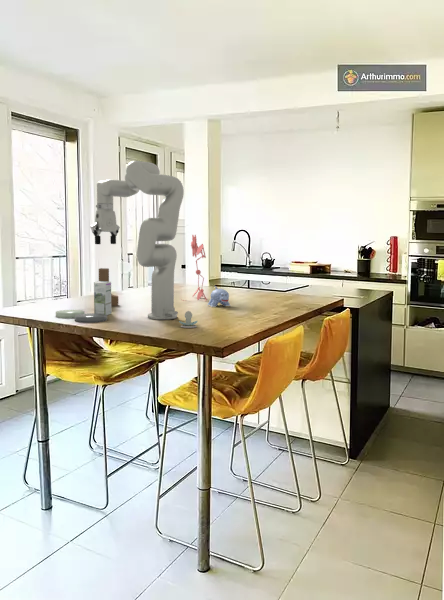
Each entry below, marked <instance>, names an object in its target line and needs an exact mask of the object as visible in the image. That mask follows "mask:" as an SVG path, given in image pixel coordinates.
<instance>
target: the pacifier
mask: <svg viewBox="0 0 444 600" xmlns="http://www.w3.org/2000/svg"><path fill="white" fill-rule="evenodd" d="M184 318H185V322H183V321H181V320H179V321H178V322H179V323H180V328H183V329H185V328H186V329H194V328H197V327H198V326H197V325H196V324H198V320H195V321H192V318H193V313H192V312H191V311H189V310H187V311H185V313H184Z"/></svg>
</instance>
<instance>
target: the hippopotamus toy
mask: <svg viewBox="0 0 444 600" xmlns="http://www.w3.org/2000/svg"><path fill="white" fill-rule="evenodd" d="M213 287H215V289H214V290H212V291H211V293H210V299H209V301H208V303H207V306H208V305H210V306H211V307H210V306H209V307H210V308H217V307H218V304H220V305H221V304H222V305H221V306H223V305H224V306H223V307H225V306H231V307H232V305H231V304H230V302H229V297H230V293H229V292H228V291H227V290H225V288H218V287H217V286H216V285H214V286H213ZM216 306H217V307H216Z"/></svg>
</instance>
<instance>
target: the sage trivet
mask: <svg viewBox="0 0 444 600" xmlns="http://www.w3.org/2000/svg"><path fill="white" fill-rule="evenodd" d="M79 314H86V313H85V310H83V309H82V310H80V309H62V310H56V311H55V317H56V318H61V319H75V316H76V315H79Z"/></svg>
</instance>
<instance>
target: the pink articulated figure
mask: <svg viewBox="0 0 444 600" xmlns="http://www.w3.org/2000/svg"><path fill="white" fill-rule="evenodd" d="M191 235H192V238H191V239H192V241H191V242H190V247H191V250H192V251H191V253H192V254H191V255H192V257H194V258H197V256H198V255H200V254H201V256H200V257H199V258H197V259H196V260H195V265H196V270H195V274H196V275H197V276H198V278H197V279H198V280H197V290H195V292H194V293H193V295H192V298H194V296H196V294H197V298H196V299H197V301H199V300H200V299H201V298H203V297H204V299H205V301H207V297H206V295H205V293H204V289H203V285H204V279H205V277H203V275H201V273H202V272H201V270H200V269H199V268H198V261H199V260H200V259H206V258H207V257H206V251H205V247H204V244H203V243H201V244H200V245H199V246H198V243H197V242H198V241H197V236H196V235H197V234H191ZM200 277H201V278H202V283H201V286H199V285H200ZM182 301H183V302H184V301H185V302H186V300H184V299H182Z"/></svg>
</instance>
